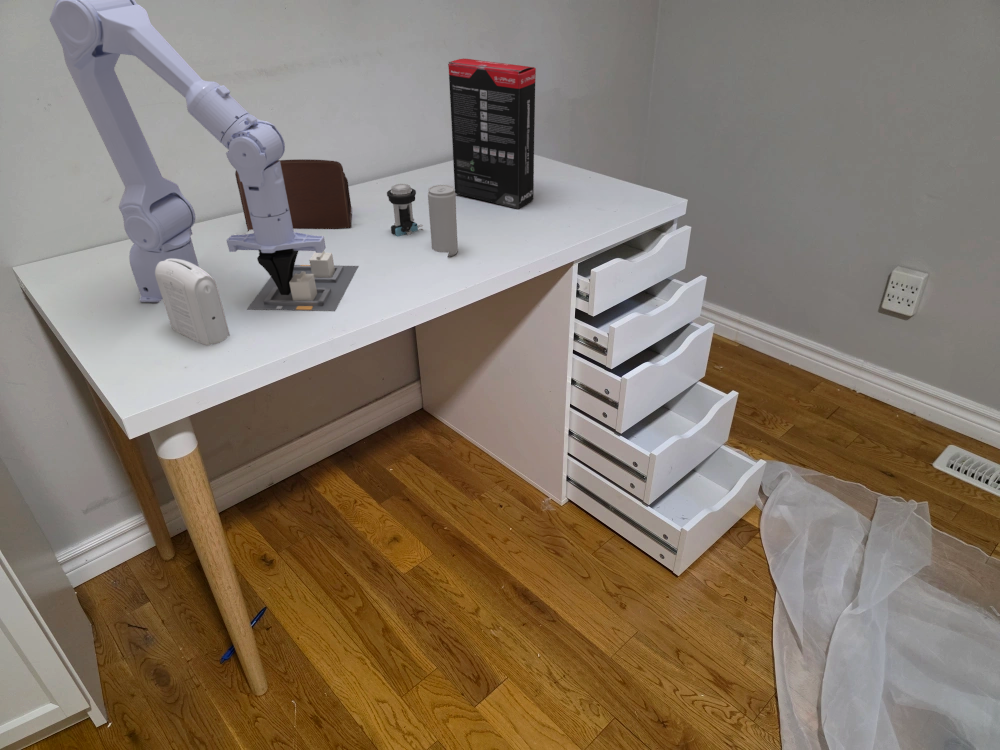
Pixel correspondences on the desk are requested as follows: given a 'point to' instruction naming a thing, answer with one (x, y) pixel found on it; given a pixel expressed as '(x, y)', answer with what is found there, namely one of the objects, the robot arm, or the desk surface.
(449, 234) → the beverage can
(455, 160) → the graphics card box
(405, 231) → the push button
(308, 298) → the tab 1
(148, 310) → the desk surface
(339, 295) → the switch bank
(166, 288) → the photo printer
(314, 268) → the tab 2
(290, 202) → the letter holder
